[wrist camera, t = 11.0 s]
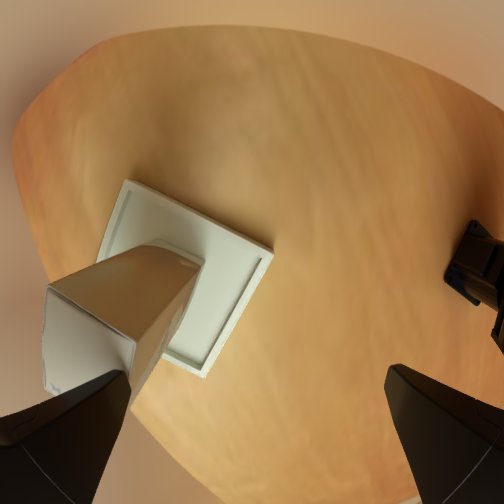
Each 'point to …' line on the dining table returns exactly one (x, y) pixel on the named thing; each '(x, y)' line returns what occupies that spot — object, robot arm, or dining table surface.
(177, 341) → the sage dish
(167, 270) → the skincare box
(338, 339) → the dining table surface
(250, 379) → the dining table surface
